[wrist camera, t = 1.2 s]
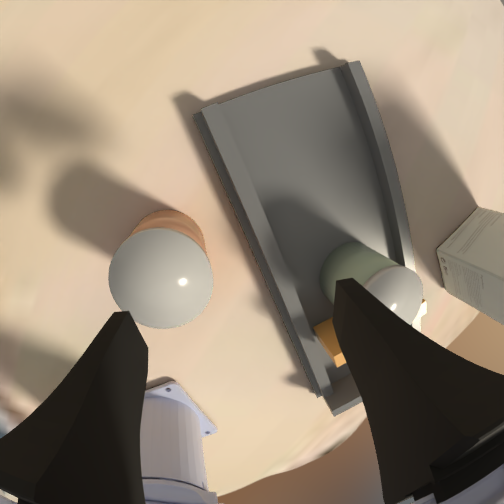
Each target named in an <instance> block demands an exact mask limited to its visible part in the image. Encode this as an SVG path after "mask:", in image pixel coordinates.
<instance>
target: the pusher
mask: <svg viewBox="0 0 504 504" xmlns="http://www.w3.org/2000/svg"><path fill="white" fill-rule="evenodd" d="M426 313H427V309H426V301H425V300H424V299H422V304H421V307H420V310H419V312H418V314H417V316H416V318H415V319H414V321H416V320H417V319H419V318H420V317H421V316H423V315H424V314H426ZM332 319H333V317H332V318H330V319H328V320H326V321H324V322H322V323H320V324H318V325H316V326H314V327H313V329H314V332H315V334H316V337H317V339H318V340H319V342H320V343H321V345H322V346H323V348H324V349H325V350H326V352H327V353H328V355H329V356H330V358H331V359H332V361H333V362H334V364H335V365H336V367H337V368H338V367H339V366H341V365H343V364H345V363H346V360H345V358H344V356H343V353H342V351H341V349H340V346H339V343H338V340H337V337H336V333H335V330H334V326H333V323H332ZM414 321H413V322H414ZM413 322H412V323H413Z"/></svg>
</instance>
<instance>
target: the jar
mask: <svg viewBox="0 0 504 504" xmlns="http://www.w3.org/2000/svg"><path fill="white" fill-rule="evenodd" d="M109 287H110V291H111V294H112V296H113V298H114V300H115V302H116V304H117V305H118V306H119V308H120V309H121V310H122V311H129V312H130V314H131V316H132V318H133V320H134V321H135V322H137V323H139V324H142V325H144V326H147V327H151V328H157V329H169V328H175V327H179V326H182V325H185V324H187V323H189V322H191V321H192V320H193V319H195V318H196V317H197V316H198V315H200V314H201V312H202V311H203V310H204V309H205V307H206V306H207V304H208V302H209V300H210V298H211V294H212V290H213V273H212V268H211V265H210V261H209V259H208V257H207V252H206V247H205V241H204V237H203V234H202V232H201V230H200V228H199V226H198V225H197V224H196V223H195V222H194V220H193V219H191V218H190V217H189V216H187V215H185V214H183V213H181V212H178V211H174V210H160V211H156V212H153V213H151V214H149V215H148V216H146V217H145V218H143V219H142V220H141V221H140V222H139V224H138V225H137V226H136V228H135V229H134V230H133V232H132V233H131V235H130V236H129V238H127V239H126V240H125V241H124V242H123V243H122V244H121V246H120V247H119V248H118V250H117V251H116V253H115V254H114V256H113V258H112V261H111V264H110V268H109Z"/></svg>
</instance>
